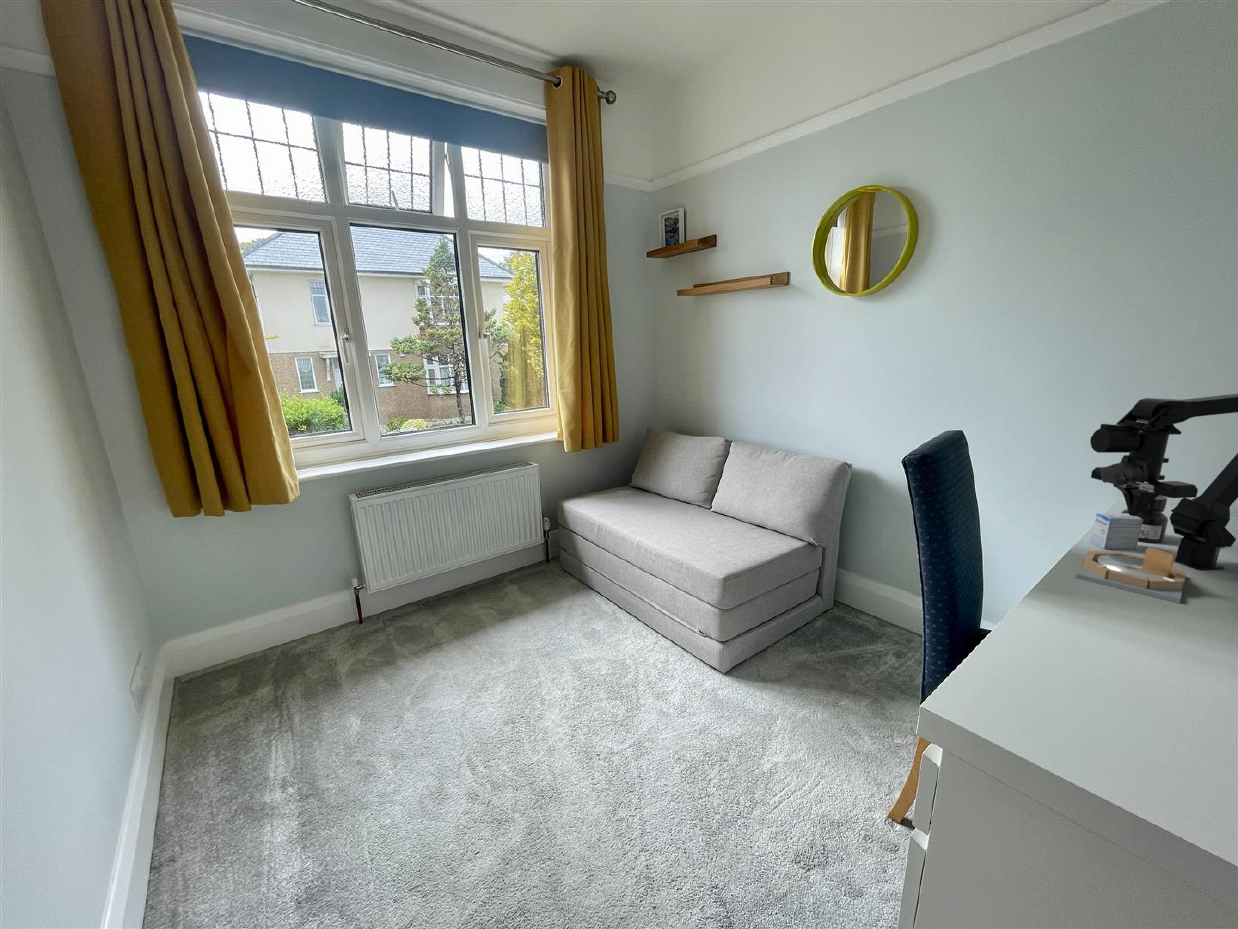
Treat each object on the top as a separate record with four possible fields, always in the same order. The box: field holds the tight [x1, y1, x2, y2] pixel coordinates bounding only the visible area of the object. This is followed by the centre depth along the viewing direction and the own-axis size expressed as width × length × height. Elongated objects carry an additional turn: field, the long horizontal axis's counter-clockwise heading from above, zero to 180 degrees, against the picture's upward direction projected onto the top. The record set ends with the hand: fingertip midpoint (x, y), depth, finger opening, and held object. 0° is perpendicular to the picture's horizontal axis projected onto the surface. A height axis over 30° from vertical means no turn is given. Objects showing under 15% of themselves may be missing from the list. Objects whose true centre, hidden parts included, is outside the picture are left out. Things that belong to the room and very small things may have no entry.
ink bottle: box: [1121, 495, 1169, 543], centre depth 134 cm, size 10×9×12 cm
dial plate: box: [1075, 550, 1187, 604], centre depth 112 cm, size 18×16×3 cm
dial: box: [1097, 547, 1177, 578], centre depth 112 cm, size 12×12×7 cm
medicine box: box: [1090, 512, 1143, 550], centre depth 129 cm, size 8×4×9 cm, turn 84°
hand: (1132, 515), depth 118 cm, fingers closed
